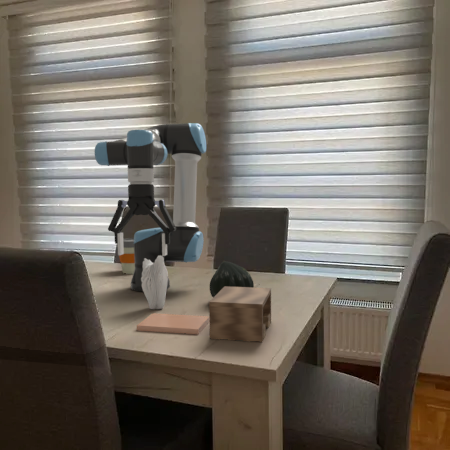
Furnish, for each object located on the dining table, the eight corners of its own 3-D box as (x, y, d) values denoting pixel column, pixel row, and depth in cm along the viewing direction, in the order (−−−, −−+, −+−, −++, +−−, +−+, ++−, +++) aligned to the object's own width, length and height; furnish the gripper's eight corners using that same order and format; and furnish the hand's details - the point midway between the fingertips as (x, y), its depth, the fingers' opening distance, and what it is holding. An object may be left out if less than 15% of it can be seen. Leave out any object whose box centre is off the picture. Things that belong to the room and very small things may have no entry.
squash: (266, 289, 154) (247, 252, 162) (228, 297, 147) (210, 258, 154) (249, 309, 165) (232, 273, 172) (212, 318, 157) (196, 280, 164)
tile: (136, 332, 131) (136, 325, 131) (152, 319, 143) (152, 313, 142) (198, 336, 127) (198, 329, 127) (209, 323, 139) (209, 316, 138)
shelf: (209, 338, 123) (209, 301, 122) (224, 318, 141) (224, 286, 140) (262, 342, 120) (262, 304, 119) (271, 321, 137) (271, 288, 136)
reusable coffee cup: (132, 275, 206) (131, 242, 204) (112, 273, 213) (111, 240, 211) (152, 271, 216) (151, 239, 215) (132, 268, 223) (131, 237, 222)
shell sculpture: (143, 305, 157) (142, 252, 155) (168, 304, 157) (167, 252, 156) (141, 312, 148) (139, 256, 147) (167, 311, 149) (166, 256, 147)
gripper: (95, 183, 135) (97, 256, 137) (179, 183, 131) (180, 257, 133) (105, 183, 142) (107, 252, 144) (185, 183, 139) (186, 253, 141)
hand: (142, 255), depth 139 cm, fingers open, 13 cm apart
